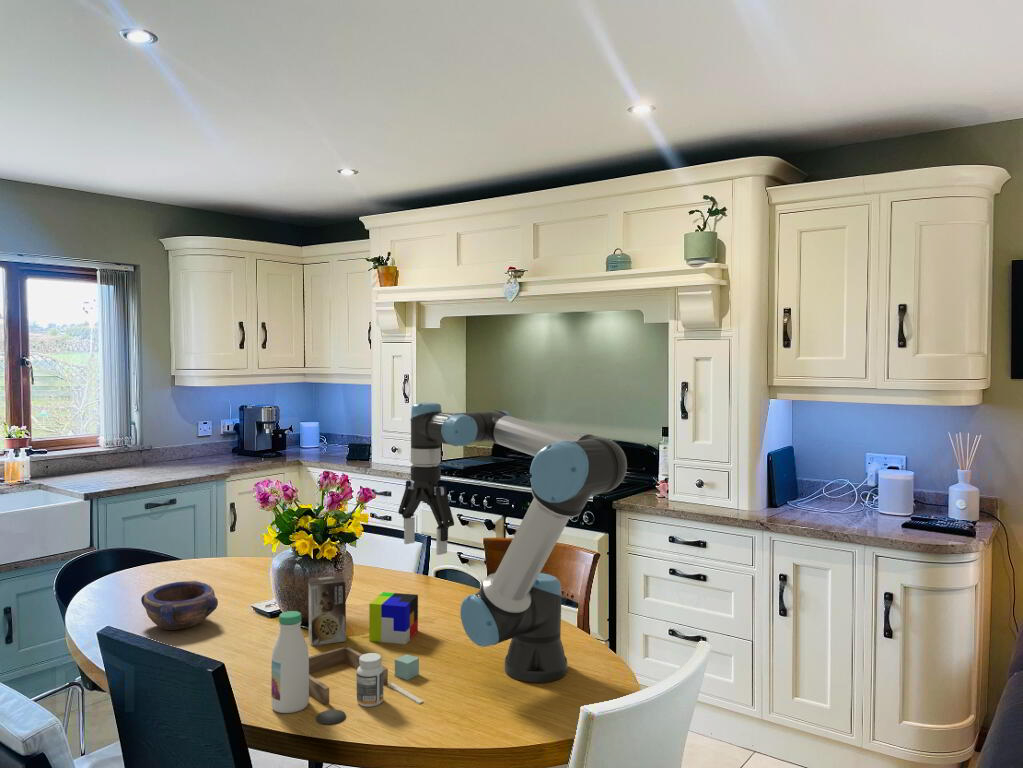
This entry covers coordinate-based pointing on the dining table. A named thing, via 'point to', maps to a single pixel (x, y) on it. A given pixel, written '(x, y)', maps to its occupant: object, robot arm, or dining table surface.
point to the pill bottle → (369, 680)
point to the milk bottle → (290, 666)
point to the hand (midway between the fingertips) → (425, 548)
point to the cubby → (332, 659)
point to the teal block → (406, 667)
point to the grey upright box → (327, 610)
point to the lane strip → (405, 693)
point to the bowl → (179, 604)
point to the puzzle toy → (393, 617)
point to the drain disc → (330, 717)
